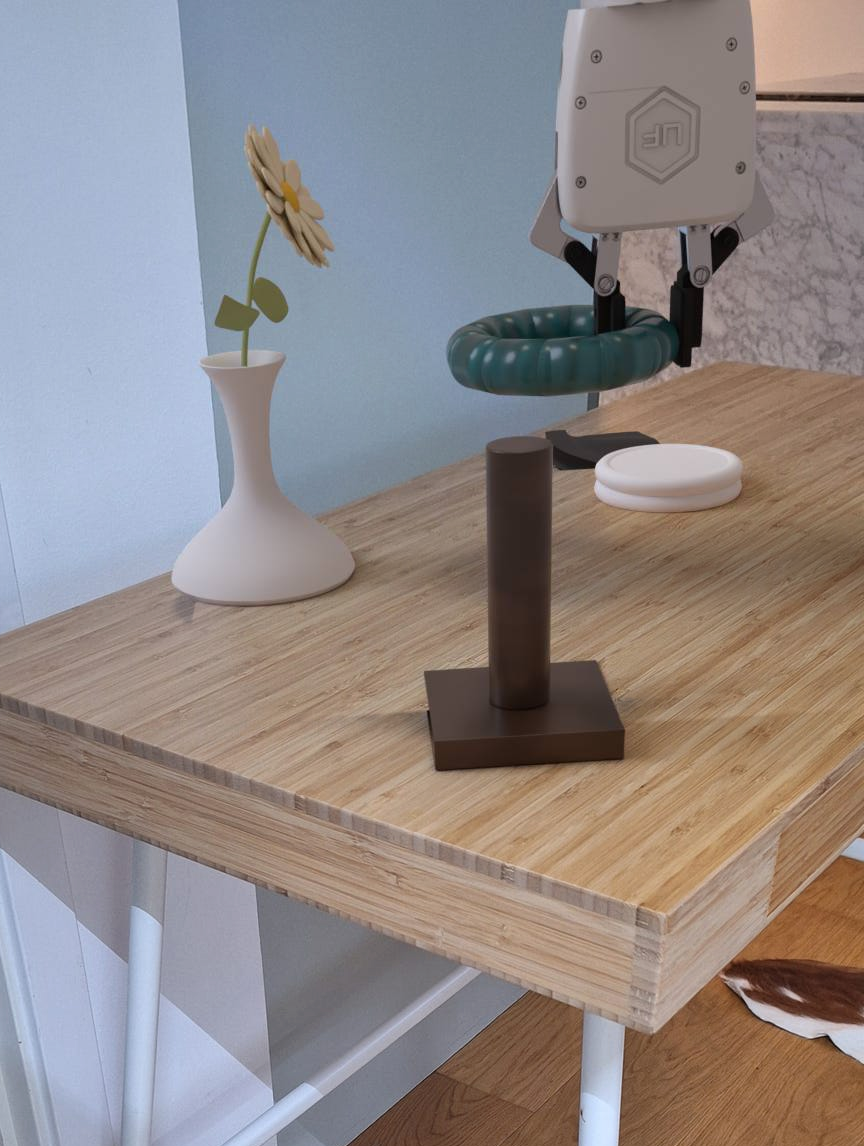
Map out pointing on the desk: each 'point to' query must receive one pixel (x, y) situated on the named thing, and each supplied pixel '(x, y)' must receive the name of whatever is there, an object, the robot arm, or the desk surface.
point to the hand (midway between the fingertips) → (646, 362)
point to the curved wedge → (591, 447)
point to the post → (520, 642)
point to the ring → (559, 351)
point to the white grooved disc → (668, 478)
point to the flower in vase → (262, 432)
